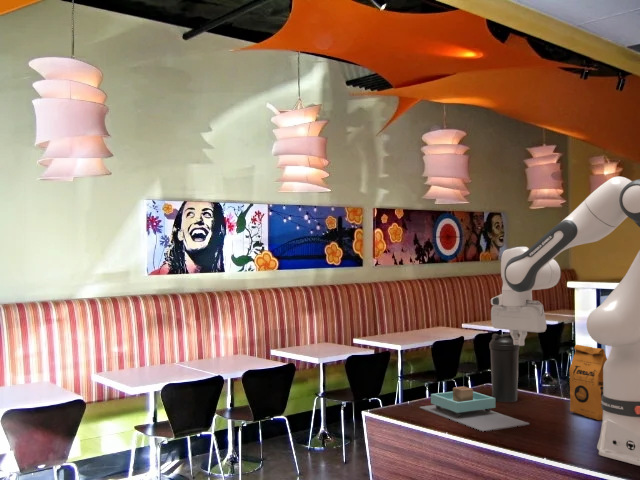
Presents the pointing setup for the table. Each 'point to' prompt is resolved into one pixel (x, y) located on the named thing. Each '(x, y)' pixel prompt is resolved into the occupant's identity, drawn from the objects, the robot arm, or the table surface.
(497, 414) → the grey rectangular mat
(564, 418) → the table surface
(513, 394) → the water bottle
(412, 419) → the table surface
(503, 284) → the robot arm
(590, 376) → the coffee package
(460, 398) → the walnut block
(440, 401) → the cyan square tray
